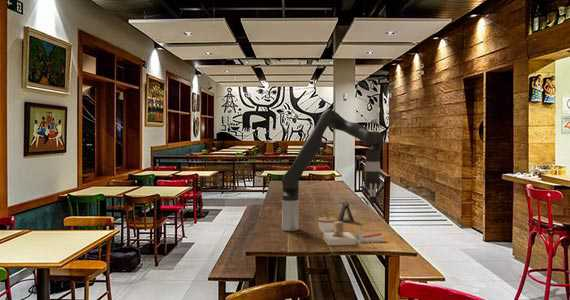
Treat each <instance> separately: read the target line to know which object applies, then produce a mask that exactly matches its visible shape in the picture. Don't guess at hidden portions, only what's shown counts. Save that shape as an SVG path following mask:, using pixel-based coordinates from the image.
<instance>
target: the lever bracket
mask: <svg viewBox="0 0 570 300" xmlns="http://www.w3.org/2000/svg"><path fill="white" fill-rule="evenodd" d="M358 235H362V234H361V232H359V233H356V237H354V238H355V239H356V243H358V244H362V243H385V239H384V238H382V237H380V236H376V237H369V238H363V236H359V238H358Z"/></svg>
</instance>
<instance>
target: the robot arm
mask: <svg viewBox="0 0 570 300" xmlns="http://www.w3.org/2000/svg"><path fill="white" fill-rule="evenodd" d="M328 128H330V129H332V130H337V131H341V132H344V133H346V134H348V135H349V136H351V137H354V138H355V139H357V140H359V141H360V142H362V143H363V144H365V145H367V146H370V148H369V149H368V150H366V152H365V167H364V168H365V169H364V182H363V184H360V186H359V187H360V189H361V190H362V192H363V193H364V194H365V195H366V196H368V197H369V198H368V201H369V202H368V203H370V204H371V205H373V204H375V203H376V196H379V195H380V194H381V193H382V191H383V190H384V189H385V185H383V184H382V182H381V161H380V157H381V150H382V147H383V143H384V142H383V141H384V137H383V135H382V133H381V132H380V131H370V130H368V128H367V127H365V126H363V125H361V124H358V123H355V122H352V121H348V120H346V119H345V118H343V117H342V116H341V115H340V114H339V113H337V112H336V111H335V110H333V109H332V108H327V109H325V110H324V111H323V112H322V113H321V114H320V117H319V119H318V120H317V123H316V125H315V127H314V129H313V130H312V131H311V133H310V135H309V136H308V138H307V139H306V141H305V142H304V144H303V145H302V147H301V148H300V150H299V151H298V153H297V156H296V158H295V160H294V162H293V164H292V165H291V166H290V167H289V169H288V170H287V171H286V172H285V173H284V174H283V176H282V178H281V184H282V193H281V195H282V198H281V199H282V201H281V203H282V205H281V206H282V213H281V230H282V231H285V232H286V231H288V232H290V231H291V232H294V231H295V232H296V231H298V230H299V187H300V186H299V180H300V178H301V177H302V175H303V173H304V172H305V170H306V169H307V168H308V167H309V165H310V164H311V163H312V162H313V161H314V159H315V157H316V156H317V155H318V153H319V152H320V150H321V147H322V142H323V136H324V133H325V131H326V130H327V129H328ZM366 188H367V189H366Z"/></svg>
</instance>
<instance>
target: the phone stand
mask: <svg viewBox="0 0 570 300" xmlns="http://www.w3.org/2000/svg"><path fill="white" fill-rule="evenodd" d="M341 203H342V206H341V208H340V212H339V214H338V217H337V221H342V222H343V223H349V221H355V220H354V216H353V214H352V212H351V210H350V203H349V202H347V200H346V201H342V202H341ZM345 213H346V214H347V217H348V218H344V217H345Z"/></svg>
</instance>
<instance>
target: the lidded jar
mask: <svg viewBox="0 0 570 300" xmlns="http://www.w3.org/2000/svg"><path fill="white" fill-rule="evenodd" d="M317 220H318V221H317V222H318V229H319V230H320V232H321V233H322V234H323V233H334V221H338V217H337V218H336V217H333V216H330V215H327V216H324V217H323V216H322V217H321V216H320V217H319V218H317Z"/></svg>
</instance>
